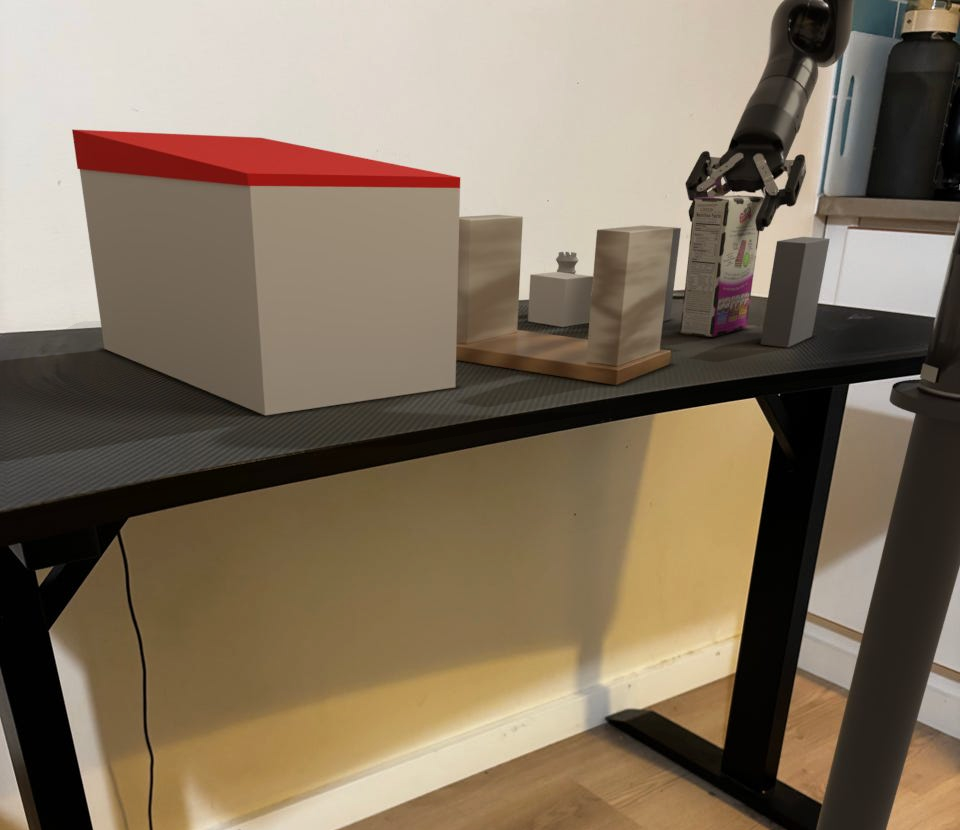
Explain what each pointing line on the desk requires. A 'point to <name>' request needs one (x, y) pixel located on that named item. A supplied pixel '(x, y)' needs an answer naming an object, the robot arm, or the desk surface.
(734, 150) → the robot arm
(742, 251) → the candy bar box
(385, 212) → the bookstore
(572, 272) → the rook chess piece
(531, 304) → the cream cube
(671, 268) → the grey books
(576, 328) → the desk surface
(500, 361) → the shelf
